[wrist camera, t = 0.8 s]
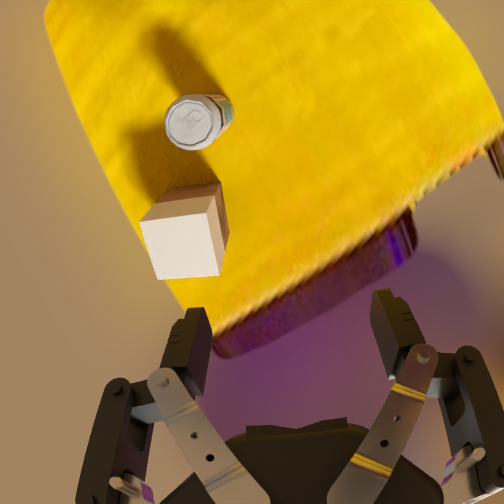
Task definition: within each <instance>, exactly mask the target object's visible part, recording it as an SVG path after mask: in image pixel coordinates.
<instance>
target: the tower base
mask: <svg viewBox="0 0 504 504" xmlns="http://www.w3.org/2000/svg"><path fill="white" fill-rule="evenodd" d="M211 195H214V196H215V202H216V207H217V212H218V218H219V223H220V228H221V233H222V238H223V244H224V249H225V250H226V245H227V241H228V237H229V227H228V221H227V215H226V210H225V204H224V198H223V192H222V186H221V182H215V183H208V184H201V185H194V186H187V187H180V188H174V189H168V190H167V191H166V192H165V193H164V194H163V195H162V196H161V197H160V199H159V200H158V201H157V202H156V203H162V202H169V201H175V200H182V199H189V198H196V197H204V196H211ZM156 203H155V204H156Z"/></svg>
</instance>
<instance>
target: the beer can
mask: <svg viewBox="0 0 504 504" xmlns="http://www.w3.org/2000/svg"><path fill="white" fill-rule="evenodd" d="M233 118H234V109H233V106H232V104H231V103H230V101H229V100H228V99H226V98H225V97H224V96H222V95H218V94H188V95H185V96H182V97H180V98H178V99H177V100H175V101H174V102H173V103H172V104H171V105H170V106H169V108H168V110H167V112H166V114H165V118H164V127H165V132H166V134H167V136H168V138H169V139H170V140H171V142H173V143H174V144H175V145H176V146H178V147H180V148H182V149H186V150H199V149H202V148H204V147H206V146H208V145H209V144H211V143H212V142H213V141H214V140H215V139H216V138H217V137H218V136H219V135H221V134H222V133H223V132H224V131H225V130H226V129H227V128H228V127H229V126H230V124H231V123H232V120H233Z"/></svg>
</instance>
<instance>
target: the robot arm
mask: <svg viewBox="0 0 504 504" xmlns="http://www.w3.org/2000/svg"><path fill="white" fill-rule="evenodd" d="M370 322H371V327H372V330H373V332H374V336H375V339H376V342H377V344H378V348H379V351H380V354H381V357H382V361H383V364H384V367H385V370H386V374H387V377H388V379H394V378H396V382H395V384H394V386H393V387H392V389H391V391H390V393H389V395H388V397H387V399H386V401H385V403H384V405H383V407H382V409H381V410H380V413H379V414H378V416H377V418H376V420H375V421H374V423H373V425H372V426H371V428H370V430H369V429H367V428H365V427H363V426H359V425H356V424H350V423H347V418H346V417H345V418H339V419H331V420H324V421H320V422H317V423H314V424H311V425H308V426H305V427H302V428H298V429H293V428H286V427H279V426H273V425H261V426H246V432H244V433H241V434H238V435H236V436H233V437H232V438H230V439H228V440H227V441H226V442H223V440H222V439H221V438H220V436H219V435H218V434H217V432H216V431H215V430H214V429H213V427H212V426H211V424H210V423H209V421H208V420H207V419H206V417H205V416H204V414H203V413H202V411H201V410H200V409H199V407H198V406H197V405H196V403H195V402H194V401H195V396H203V392H204V387H205V381H206V374H207V369H208V363H209V358H210V352H211V346H212V340H213V335H212V329H211V326H210V323H209V320H208V317H207V314H206V311H205V309H204V307H196V308H188V309H187V311H186V314H185V318H184V319H178V320H177V322H176V323H175V324H174V325H173V326H172V329H171V332H170V337H169V338H168V344H167V345H166V348H165V351H164V354H163V358H162V361H161V365H160V367H159V369H157V370H155V371H154V372H152V373H151V374H150V376H149V377H148V379H147V380H144V381H140V382H136V383H131V384H130V383H129V381H128V380H126V379H125V378H115V379H113V380H112V381H110V382H109V383H108V384H107V385H106V387H105V389H104V392H103V395H102V399H101V401H100V405H99V408H98V411H97V414H96V418H95V421H94V425H93V428H92V432H91V435H90V439H89V442H88V446H87V450H86V454H85V458H84V462H83V466H82V470H81V474H80V479H79V483H78V488H77V493H76V498H75V502H76V504H155V502H154V499H153V491H152V489H151V487H150V486H149V485H148V484H147V483H145V477H146V470H147V463H148V456H149V450H150V445H151V439H152V433H153V427H154V422H159V421H163V420H164V422H165V424H166V426H167V427H168V429H169V431H170V433H171V434H172V436H173V438H174V439H175V441H176V443H177V445H178V446H179V448H180V449H181V451H182V453H183V454H184V456H185V457H186V459H187V461H188V462H189V464H190V465H191V467H192V468H193V470H194V472H193V473H192V474H191V475H190V476H189V477H188V478H187V479H186V480H185V481H184V482H183V483H181V485H179V486H178V487H177V488H176V489H175V490H174V491H173V492H171V493H170V494H169V495H168V496H167V497H166V498H165V499H164V500H162V501H161V503H160V504H473V503H475V502H477V501H480V500H482V499H484V498H486V497H488V496H490V495H492V494H494V493H496V492H498V491H500V490H502V489H504V411H503V408H502V405H501V402H500V399H499V397H498V394H497V391H496V389H495V386H494V383H493V381H492V378H491V376H490V374H489V371H488V369H487V367H486V364H485V362H484V360H483V357H482V355H481V353H480V352H479V351H478V350H477V349H476V348H474V347H472V346H463V347H461V348H459V349H458V350H457V352H456V354H452V353H440V352H437V350H436V349H435V348H434V347H433V346H432V345H429V344H427V343H426V341H425V339H424V337H423V335H422V332H421V330H420V328H419V326H418V324H417V322H416V320H415V318H414V316H413V314H412V312H411V310H410V308H409V306H408V304H407V303H406V302H405V301H404V300H403V299H402V298H401V297H397V298H394V296H393V294H392V292H391V290H390V289H389V288H385V289H378V290H374V291H373V296H372V304H371V310H370ZM426 397H432V398H438V401H439V405H440V408H441V412H442V416H443V420H444V424H445V428H446V432H447V437H448V441H449V446H450V451H451V456H452V458H450V459H449V460H448V462H447V463H446V465H445V468H444V478H443V481H442V483H441V485H439V484H438V483H437V481H436V480H434V479H433V478H432V477H430V476H429V475H428V474H426V473H425V472H424V471H422V470H421V469H419V468H418V467H417V466H416V465H414V464H413V463H412V462H410V461H409V460H407V459H406V458H405V457H404V456H403V455H401V453H402V451H403V450H404V448H405V446H406V444H407V441H408V439H409V437H410V435H411V433H412V431H413V429H414V427H415V424H416V422H417V420H418V417H419V415H420V413H421V410H422V408H423V405H424V403H425V400H426Z"/></svg>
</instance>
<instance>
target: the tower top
mask: <svg viewBox="0 0 504 504" xmlns="http://www.w3.org/2000/svg"><path fill="white" fill-rule="evenodd" d="M139 223H140V227H141V230H142V233H143V237H144V240H145V243H146V246H147V249H148V252H149V255H150V258H151V261H152V264H153V267H154V270H155V273H156V276H157V279H158V280H163V279H178V278H191V277H205V276H217V275H220V271H221V266H222V262H223V258H224V253H225V249H224V244H223V238H222V233H221V228H220V223H219V218H218V212H217V207H216V202H215V196H214V195H211V196H204V197H196V198H189V199H182V200H175V201H169V202H162V203H156V204H154V205H153V206H152V208H151V209H150V210H149V211H148V212H147V213H146V215H145V216H144V217H143V218H142V219H141V220H140V222H139Z"/></svg>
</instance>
